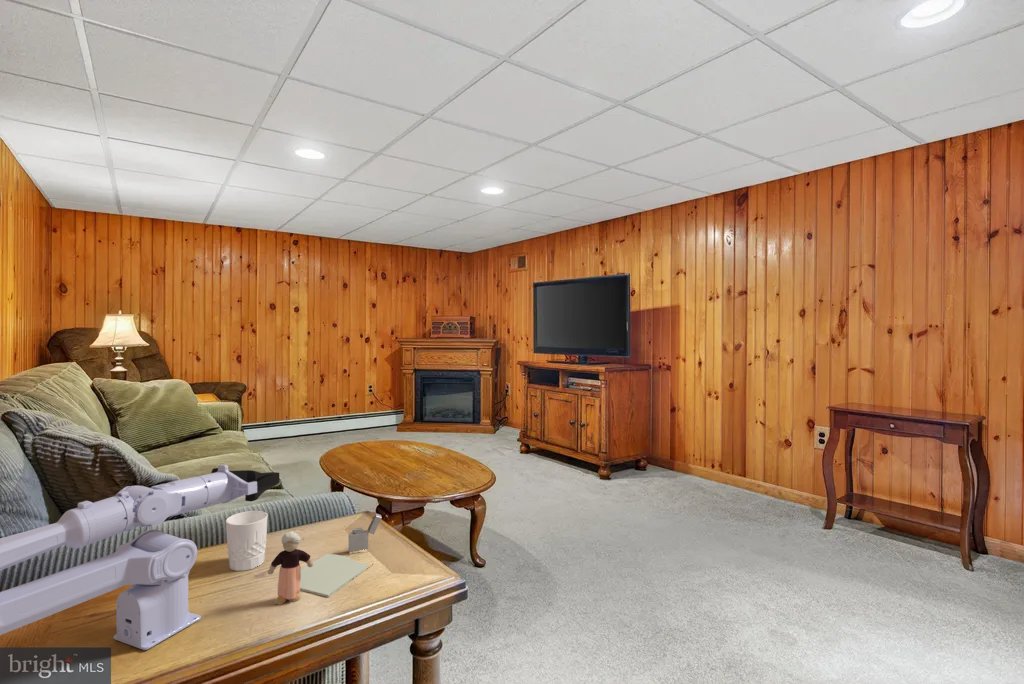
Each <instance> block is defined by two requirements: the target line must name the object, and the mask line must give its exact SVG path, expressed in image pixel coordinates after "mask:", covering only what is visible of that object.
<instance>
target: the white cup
mask: <svg viewBox="0 0 1024 684" xmlns="http://www.w3.org/2000/svg"><path fill="white" fill-rule="evenodd" d="M268 515H269V514H268V513H267V512H265V511H262V510H249V511H243V512H238V513H234V514H233V515H231V516H229V517H228V518H226V520H225V529H226V532H225V533H226V545H227V546H226V547H227V554H228V555H227V556H228V567H229V569H230V570H232V571H237V572H243V571H249V570H253V569H256V568H258V567H260V566H262V565H263V564H264V563H265V561H264V560H266V547H267V537H268ZM263 562H264V563H263ZM262 563H263V564H262ZM259 565H260V566H259ZM257 566H258V567H257ZM255 567H256V568H255Z"/></svg>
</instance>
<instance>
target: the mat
mask: <svg viewBox="0 0 1024 684" xmlns="http://www.w3.org/2000/svg"><path fill="white" fill-rule="evenodd" d="M350 558H351V557H350V556H349V557H348V556H346V555H345V556H344V555H340V554H335V553H331V552H327V553H326V554H325V555H323V556H321V557H320V558H318V559H317V560H314V561H312V562H313V566H312V567H308V566H307V565H306V566H304V567H303V568H300V570H301V584H300V591H303V592H307V593H311V594H314V595H318V596H322V597H326V598H329V597H330V596H332V595H333V594H335V593H336V592H337V591H339V590H340V589H342V588H343V587H344V586H346V585H347V584H348V582H349V583H350V582H351V581H353V580H354V579H356V578H357V577H358V576H360V575H361V574H362V573H361V572H363V571H364V570H365V569H366V568H367V567H369V565H368V566H367V564H368V563H360V562H359V563H358V562H356V561H357V560H356V561H355V560H354V561H355V562H354V561H353V560H352V559H350ZM365 565H366V566H365ZM365 571H366V570H365ZM365 571H364V572H365ZM364 572H363V573H364ZM360 573H361V574H360ZM359 574H360V575H359ZM356 576H357V577H356ZM355 577H356V578H355ZM353 578H354V579H353ZM352 579H353V580H352ZM346 583H347V584H346ZM345 584H346V585H345ZM341 587H342V588H341Z"/></svg>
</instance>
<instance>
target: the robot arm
mask: <svg viewBox="0 0 1024 684" xmlns="http://www.w3.org/2000/svg"><path fill="white" fill-rule="evenodd" d="M279 483H280V472H278V471H277V472H275V471H271V472H269V471H268V472H261V471H260V472H259V471H256V470H253V469H252V470H250V469H249V470H248V469H247V470H246V469H245V470H229V466H228V464H219V465H218V467H214V468H212V469H211V473H207V474H203V475H198V476H192V477H188V478H182V479H179V480H174V481H169V482H167V483H166V482H165V483H161V484H158V485H157V484H156V485H153V486H151V487H148V486H144V485H131V486H129V485H128V486H125V487H123V488H122V489H120V490H119V491H118V492H116V494H115V495H113V496H110V497H108V498H104V499H101V500H98V501H94V502H92V501H89V500H84V501H81V502H78V503H77V507H75V508H71V509H68V510H66V511H65V512H64V513H63V514H62V515H61V517H60V518H59V519H58V521H56V522H55V523H51V524H47V525H44V526H43V525H42V526H39V527H37V528H36V527H35V528H32V529H29V530H27V531H22V532H17V533H14V534H12V535H11V534H10V535H7V536H5V537H1V538H0V572H1V571H3V570H5V569H8V568H10V567H12V566H15V565H18V564H20V563H23V562H25V561H29V560H30V559H32V558H33V559H34V558H35V557H38V556H40V555H42V554H45V553H47V552H50V551H52V550H54V549H57V548H60V547H63V546H67V547H68V548H69V547H70V548H72V549H81V548H83V547H85V546H89V545H91V544H94V543H97V542H99V541H102V540H105V539H108V538H110V537H113V536H116V535H118V534H121V533H124V532H126V531H128V530H131V529H133V528H134V527H136V526H137V527H142V528H147V527H151V528H152V529H148V530H145V531H143V532H141V533H140V534H138V535H137V536H136V537H135V538H133V539H132V540H130V541H129V542H125V543H122V544H120V545H119V546H118V547H117V549H116V550H115V552H114V553H111V554H107V555H105V556H102V557H99V558H95V559H94V560H90V561H88V562H84V563H82V564H79V565H75V566H73V567H69V568H67V569H65V570H64V569H63V570H61V571H58V572H55V573H51V574H50V575H46V576H43V577H40V578H38V579H35V580H31V581H29V582H26V583H23V584H19V585H17V586H14V587H12V588H11V587H10V588H9V589H6V590H3V591H0V636H2V635H5V634H7V633H11V632H12V631H15V630H17V629H20V628H22V627H25V626H28V625H30V624H32V623H35V622H38V621H40V620H41V619H46V618H47V617H50V616H53V615H54V614H58V613H59V612H62V611H64V610H67V609H70V608H72V607H75V606H78V605H80V604H83V603H85V602H87V601H90V600H92V599H95V598H98V597H100V596H103V595H105V594H107V593H110V592H112V591H115V590H117V589H120V588H123V587H124V586H129V585H130V586H129V587H128V588H127V589H124V591H122V592H120V593H119V595H118V596H117V598H116V602H115V603H116V604H115V605H116V606H115V609H116V610H115V611H116V634H114V635H113V639H114V640H116V641H118V642H121V643H124V644H126V645H129V646H132V647H135V648H138V649H141V650H143V651H147V650H149V649H151V648H153V647H155V646H156V645H158V644H160V643H161V642H163V641H165V640H166V639H168V638H170V637H173V635H176V634H177V633H179V632H180V631H182V630H184V629H186V628H188V627H190V626H191V625H192V624H195V623H196V622H198V621H200V620H201V619H202V615H200V614H197V613H193V612H190V610H189V575H190V570H191V569H192V568H193V566H194V564H195V563H196V560H197V557H198V547H197V545H196V543H195V542H194V541H192V540H191V539H187V538H181V537H177V536H175V535H172V534H169V533H166V532H164V531H162V530H160V529H153V528H156V527H157V526H159V525H161V524H162V523H163V522H164V521H165V520H167V519H168V518H170V517H174V516H175V517H176V516H179V515H182V514H185V513H190V512H194V511H197V510H201V509H205V508H209V507H212V506H216V505H221V504H222V505H223V504H224V505H225V504H228V503H230V502H233V501H235V500H237V499H239V498H241V497H244V496H245V499H244V500H245V502H254V501H257V500H258V499H259V498H260V497H261V496H262V495H263V494H264V493H265V492H266V491H268V490H270V489H271V488H273V487H275V486H276V485H278V484H279Z"/></svg>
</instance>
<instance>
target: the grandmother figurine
mask: <svg viewBox="0 0 1024 684" xmlns="http://www.w3.org/2000/svg"><path fill="white" fill-rule="evenodd" d="M301 541H302V538H301V536H299V534H298V533H297V532H294V531H293V530H292V531H288V532H285V533H284V534H283V536H282V537H281V544H282V548H283V550H282V551H280V552H279V553H278V554H277V555H276V556H275V557H274V559H273V560H272V561H271V564H270V566H269V569H268V570H267V574H268V575H273V574H274V571H275V570H276V568H277V567H278V566H280V568H279V571H278V580H277V581H278V582H277V597H276V599H275V600H274V604H275V605H281V604H284V603H286V602H287V600H289V602H297V601H300V600H301V598H302V596H301V594H300V592H301V590H300V584H301V565H300V562H303V563H305V564H306V566H308V567H312V566H313V562H314V561H312V558H311V555H310V554H309V553H307V552H306V551H304V550H301V549H298V546H299V544H300V543H301Z"/></svg>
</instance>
